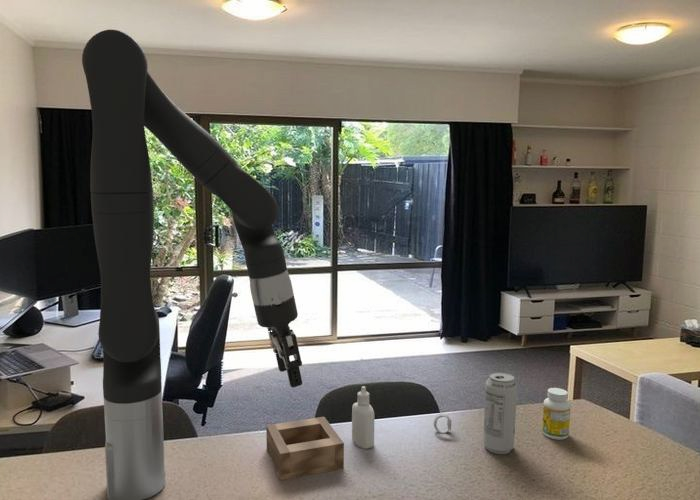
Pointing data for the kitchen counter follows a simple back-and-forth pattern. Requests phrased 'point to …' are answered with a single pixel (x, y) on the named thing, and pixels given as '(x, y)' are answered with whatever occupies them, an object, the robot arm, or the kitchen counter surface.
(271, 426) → the socket block
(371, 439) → the eye dropper bottle
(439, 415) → the smartwatch
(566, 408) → the supplement bottle
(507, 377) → the energy drink can
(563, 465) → the kitchen counter surface
